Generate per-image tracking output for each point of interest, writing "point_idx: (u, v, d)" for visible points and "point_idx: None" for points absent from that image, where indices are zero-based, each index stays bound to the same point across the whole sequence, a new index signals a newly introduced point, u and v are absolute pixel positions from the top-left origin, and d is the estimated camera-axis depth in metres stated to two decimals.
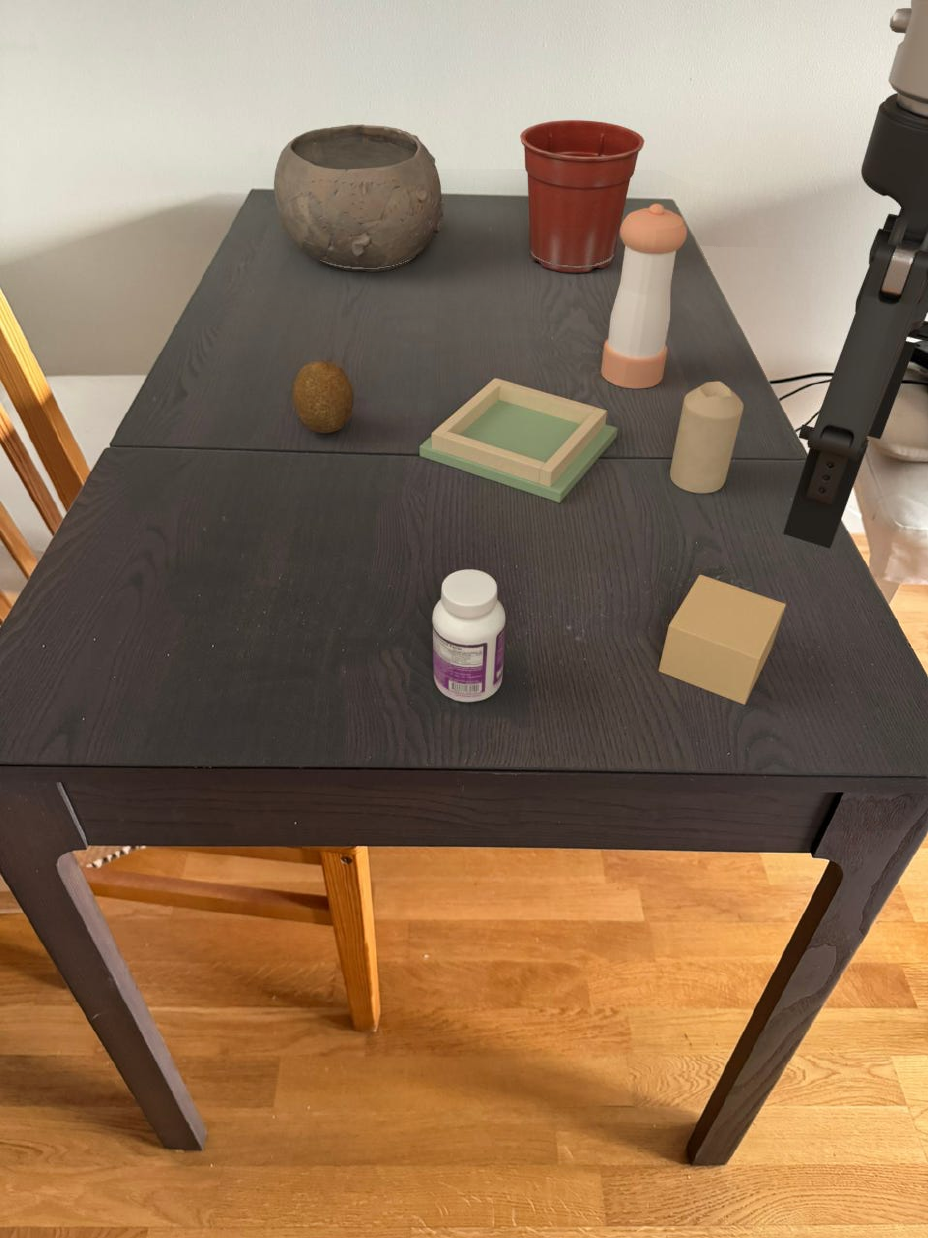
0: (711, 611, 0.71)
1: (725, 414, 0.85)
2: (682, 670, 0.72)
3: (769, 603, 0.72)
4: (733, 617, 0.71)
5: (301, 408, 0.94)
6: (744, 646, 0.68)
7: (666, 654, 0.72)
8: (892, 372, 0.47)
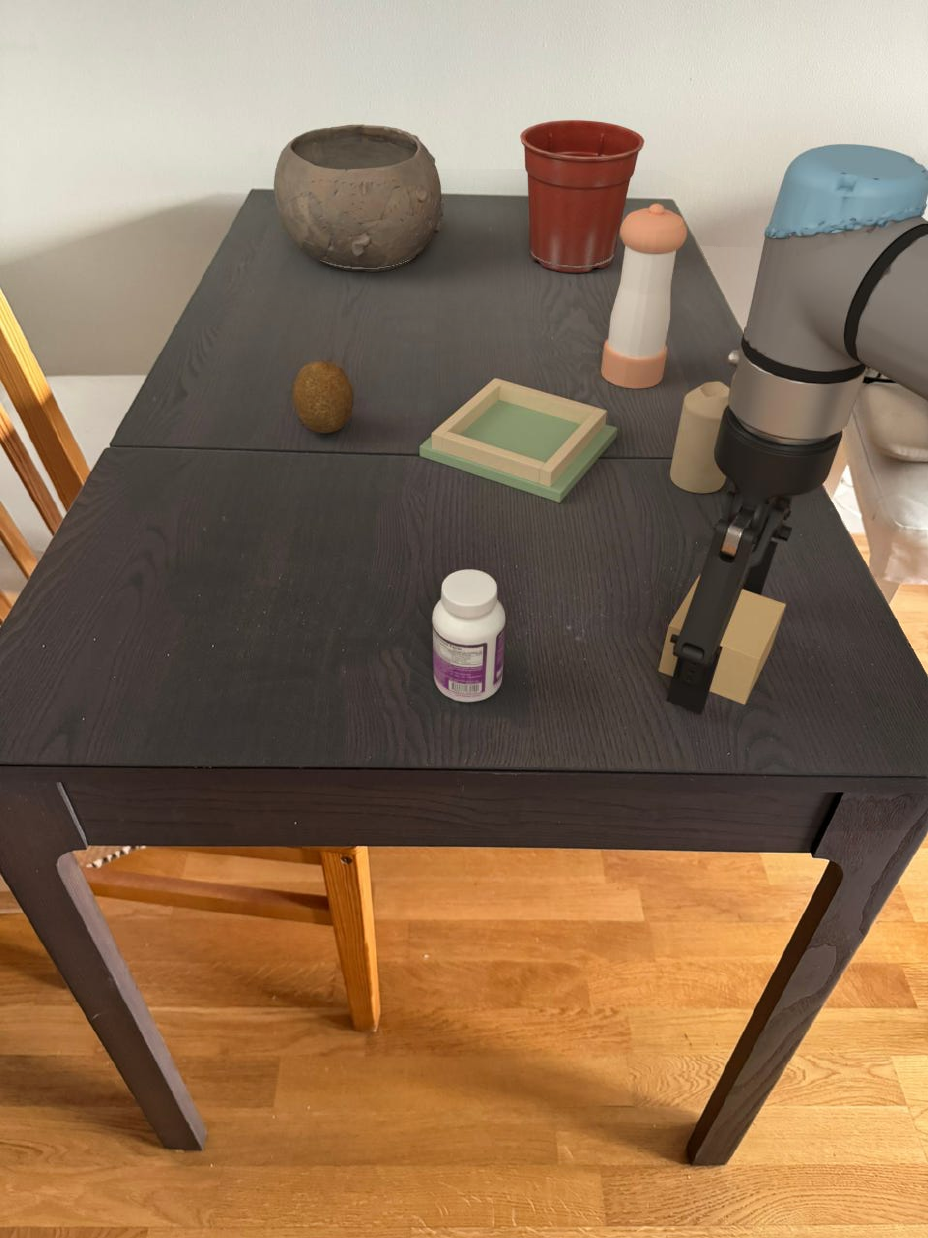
0: None
1: None
2: None
3: (769, 603, 0.72)
4: (733, 617, 0.71)
5: (301, 408, 0.94)
6: (744, 646, 0.68)
7: (666, 654, 0.72)
8: (738, 598, 0.63)
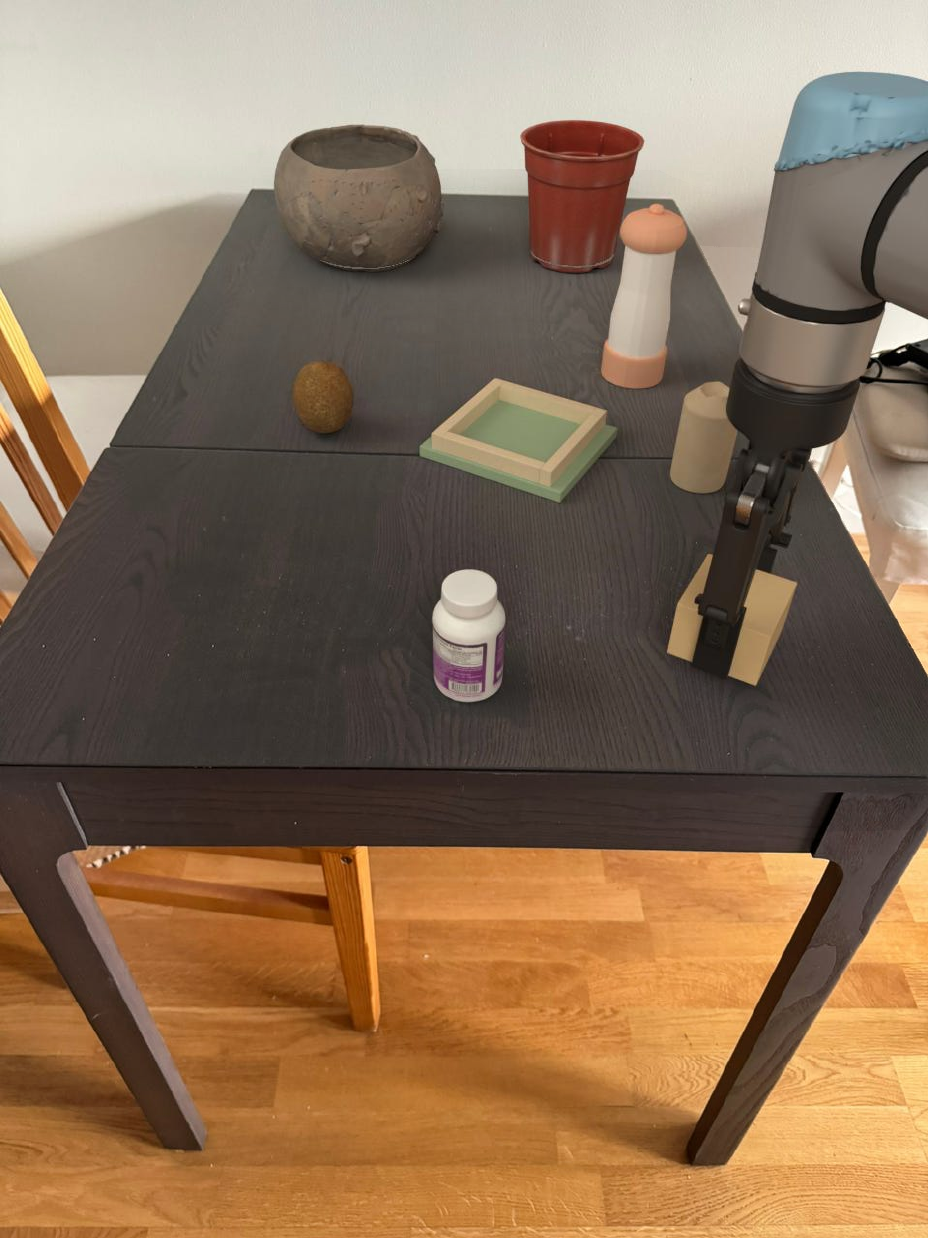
0: None
1: (725, 414, 0.85)
2: (691, 651, 0.70)
3: (780, 582, 0.70)
4: None
5: (301, 408, 0.94)
6: (755, 624, 0.66)
7: (674, 634, 0.70)
8: (759, 557, 0.62)
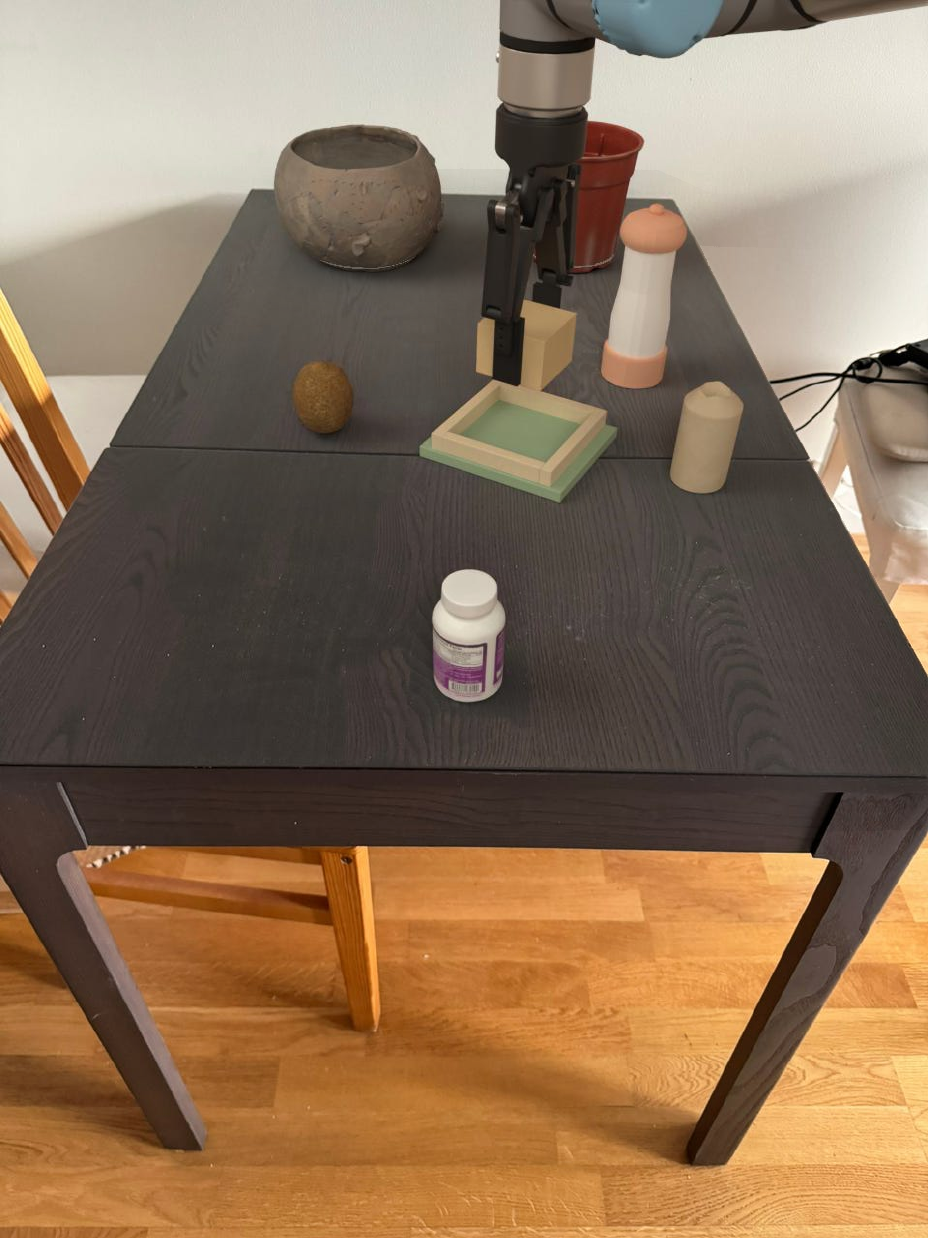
0: None
1: (725, 414, 0.85)
2: (492, 366, 0.89)
3: (563, 312, 0.89)
4: (531, 319, 0.87)
5: (301, 408, 0.94)
6: (534, 334, 0.85)
7: (479, 353, 0.88)
8: (528, 270, 0.81)
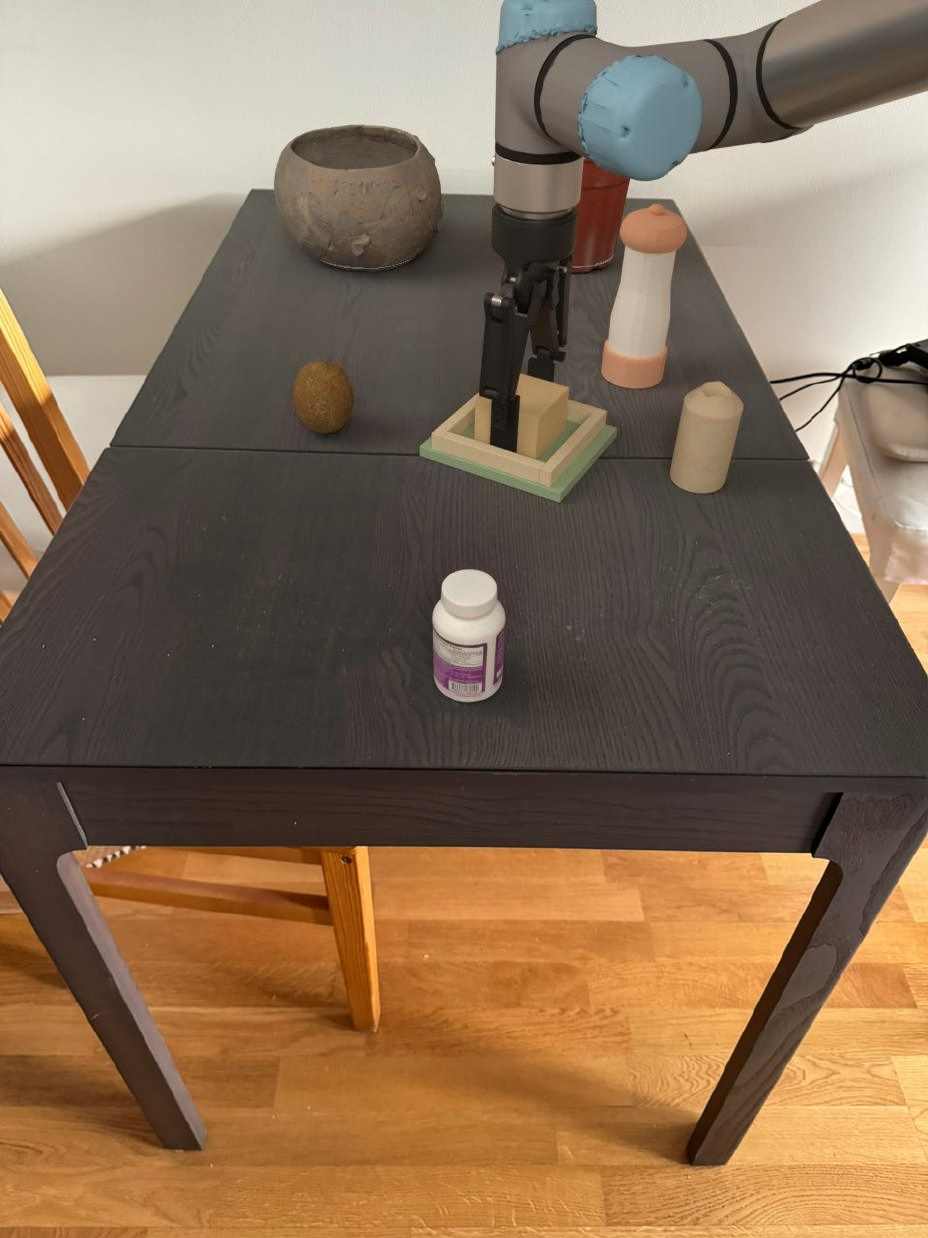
0: None
1: (725, 414, 0.85)
2: (489, 438, 0.94)
3: (556, 386, 0.94)
4: (526, 394, 0.93)
5: (301, 408, 0.94)
6: (529, 410, 0.90)
7: (477, 425, 0.94)
8: (522, 353, 0.86)
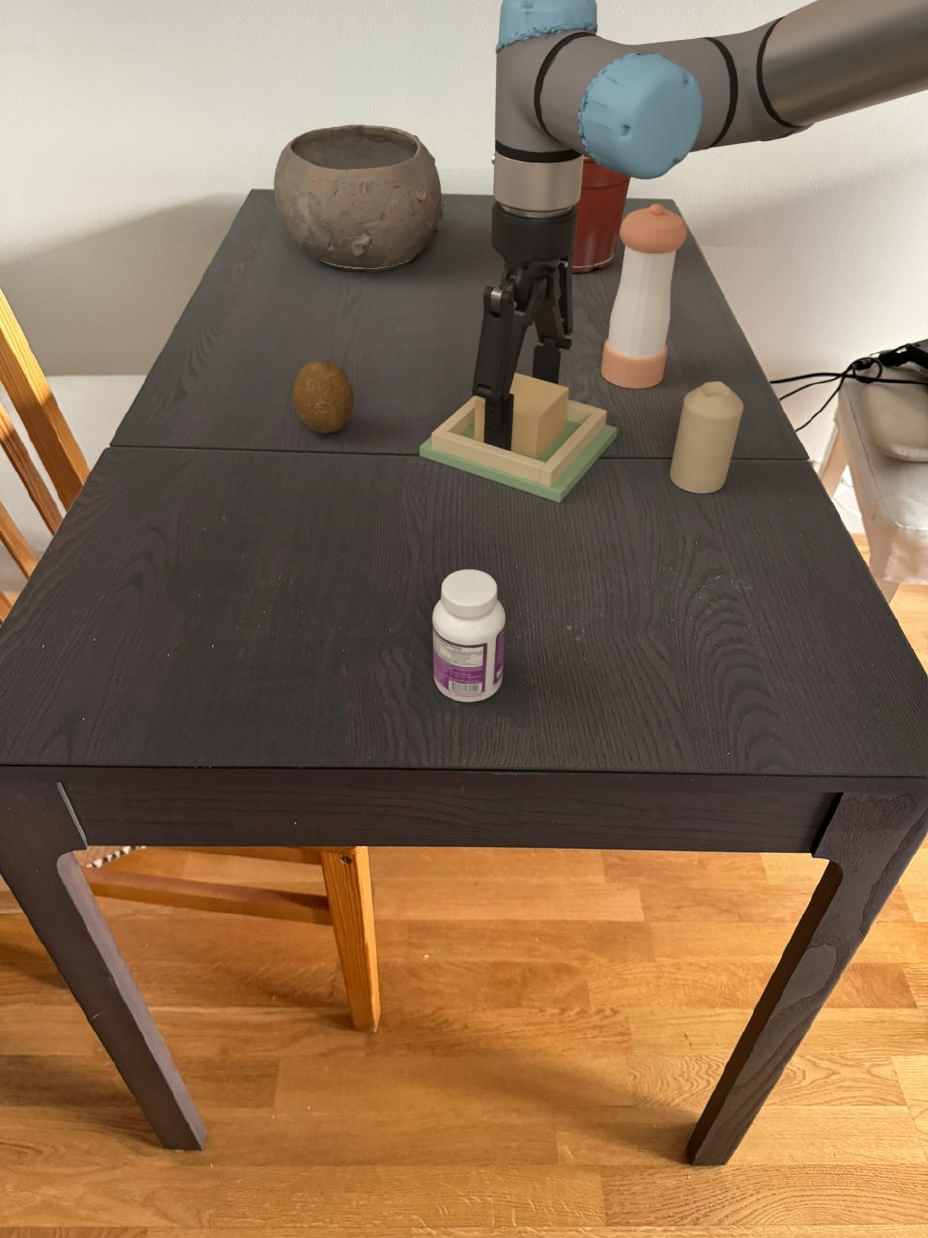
0: (510, 391, 0.93)
1: (725, 414, 0.85)
2: None
3: (556, 387, 0.94)
4: (525, 394, 0.93)
5: (301, 408, 0.94)
6: (529, 411, 0.90)
7: (477, 425, 0.94)
8: (518, 352, 0.85)
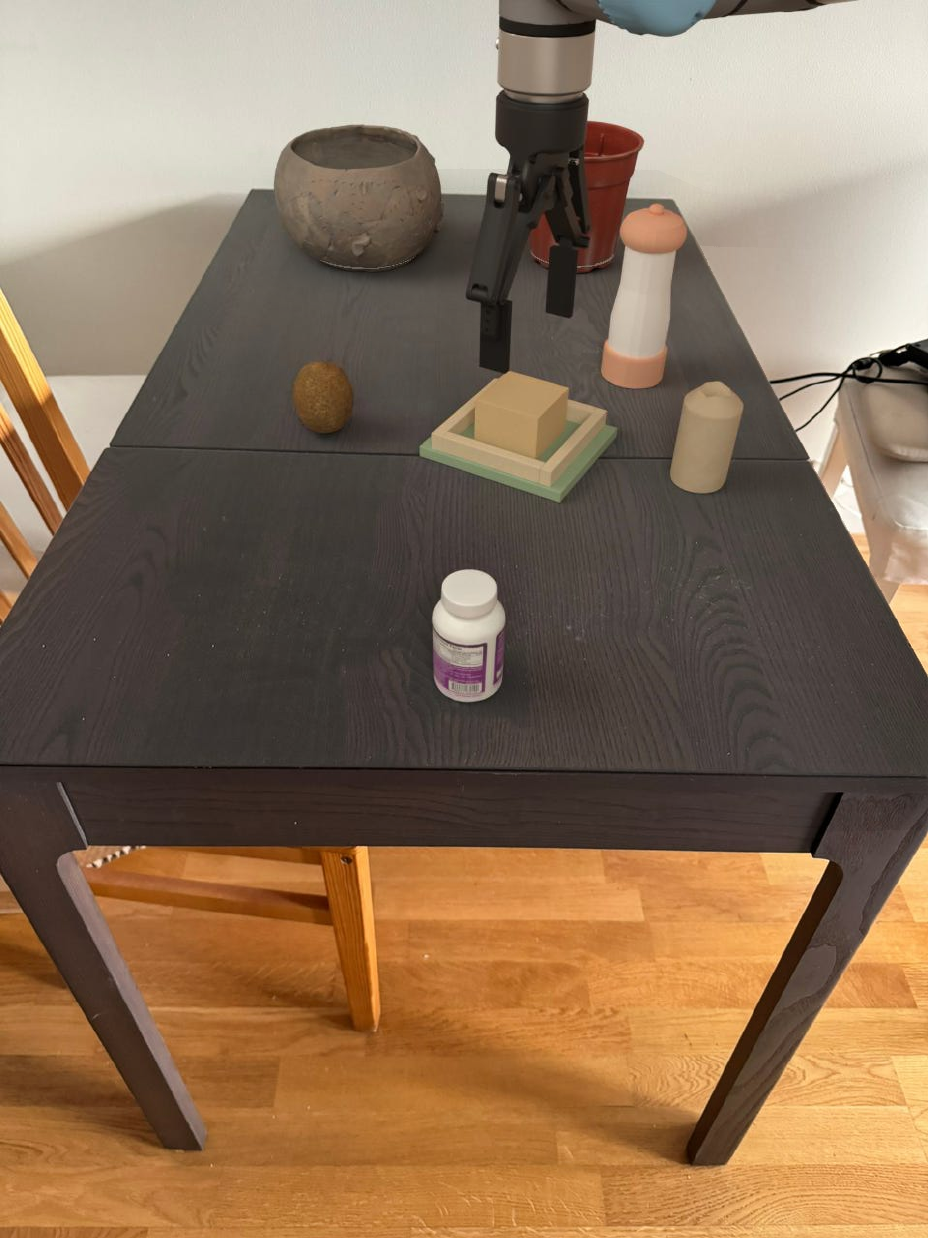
0: (510, 391, 0.93)
1: (725, 414, 0.85)
2: (489, 438, 0.94)
3: (556, 387, 0.94)
4: (525, 394, 0.93)
5: (301, 408, 0.94)
6: (529, 411, 0.90)
7: (477, 425, 0.94)
8: (520, 254, 0.78)
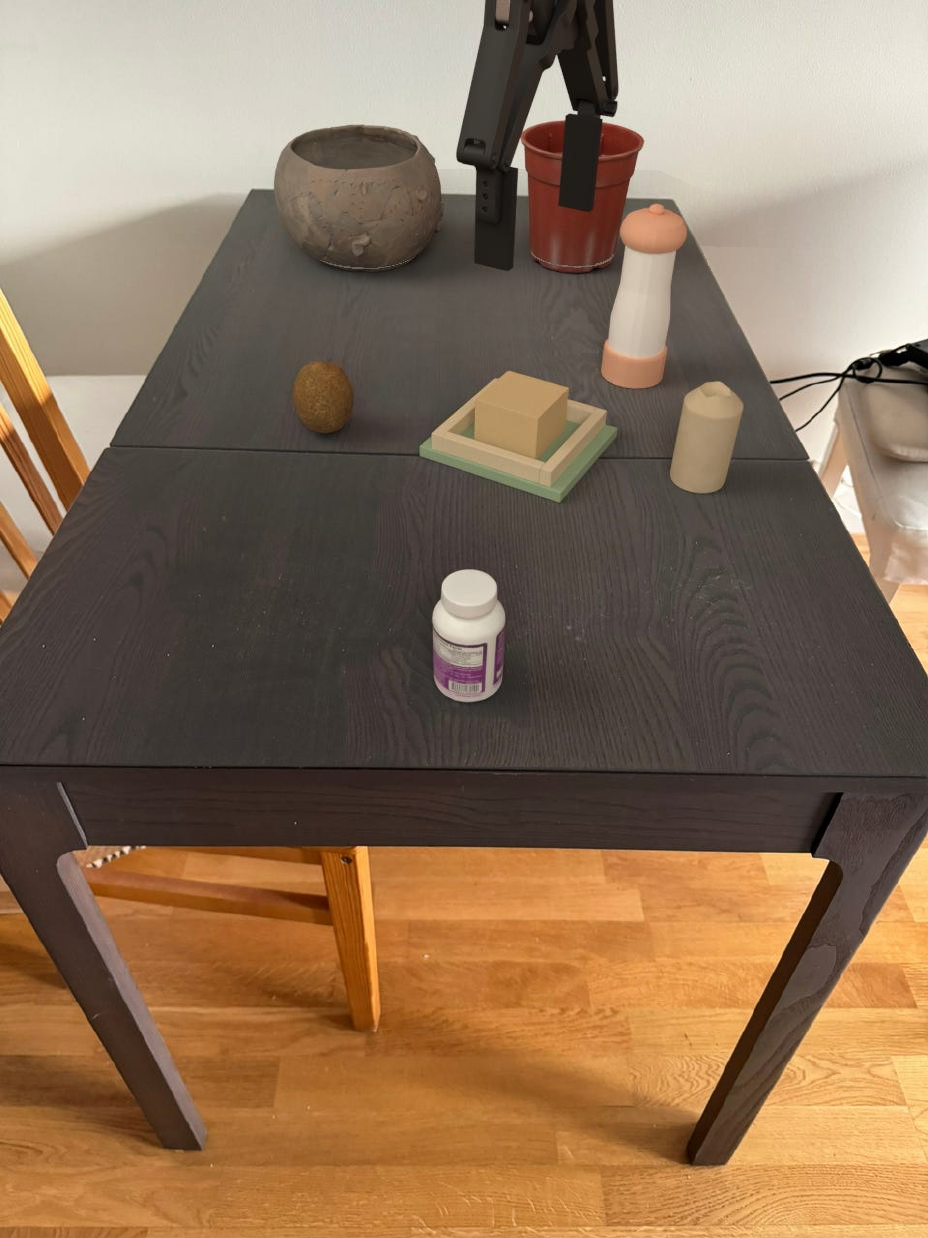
0: (510, 391, 0.93)
1: (725, 414, 0.85)
2: (489, 438, 0.94)
3: (556, 387, 0.94)
4: (525, 394, 0.93)
5: (301, 408, 0.94)
6: (529, 411, 0.90)
7: (477, 425, 0.94)
8: (529, 103, 0.59)
